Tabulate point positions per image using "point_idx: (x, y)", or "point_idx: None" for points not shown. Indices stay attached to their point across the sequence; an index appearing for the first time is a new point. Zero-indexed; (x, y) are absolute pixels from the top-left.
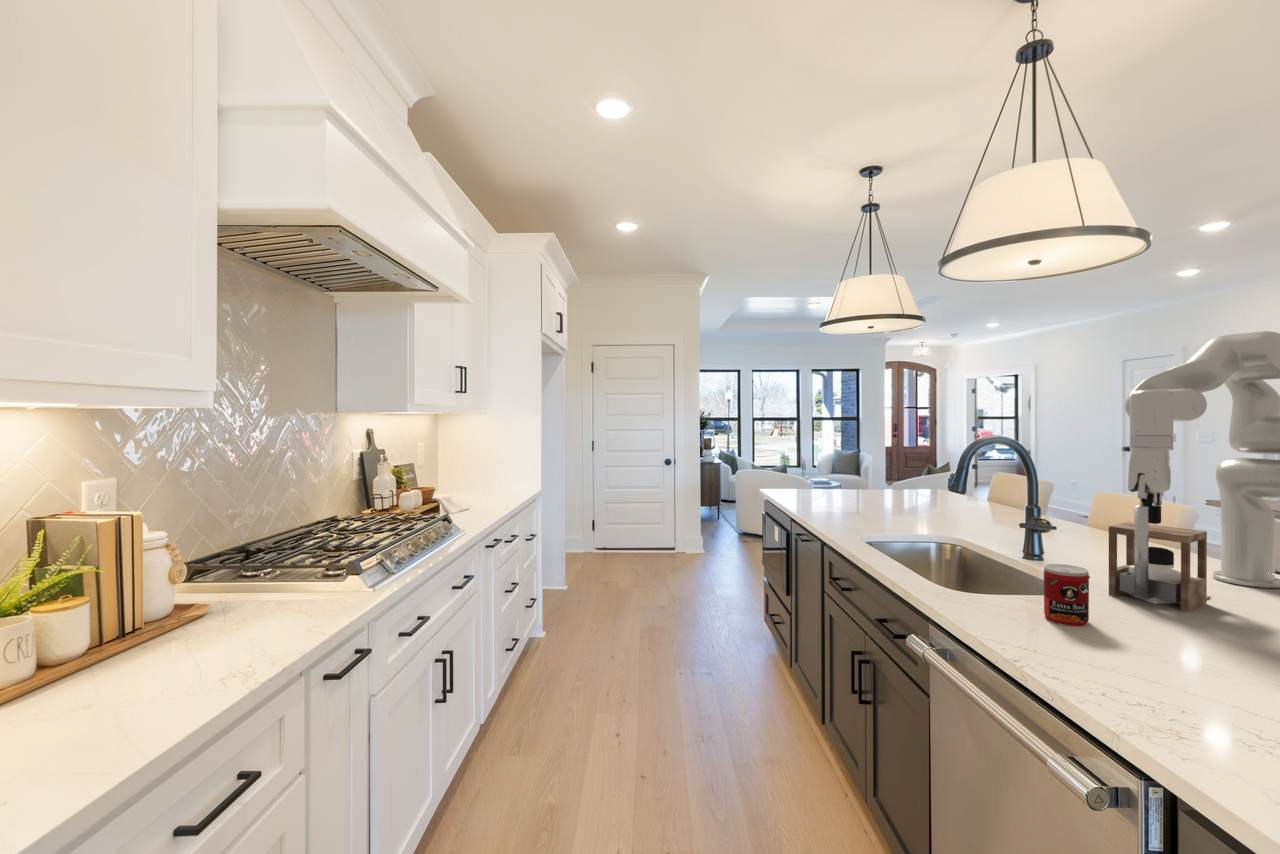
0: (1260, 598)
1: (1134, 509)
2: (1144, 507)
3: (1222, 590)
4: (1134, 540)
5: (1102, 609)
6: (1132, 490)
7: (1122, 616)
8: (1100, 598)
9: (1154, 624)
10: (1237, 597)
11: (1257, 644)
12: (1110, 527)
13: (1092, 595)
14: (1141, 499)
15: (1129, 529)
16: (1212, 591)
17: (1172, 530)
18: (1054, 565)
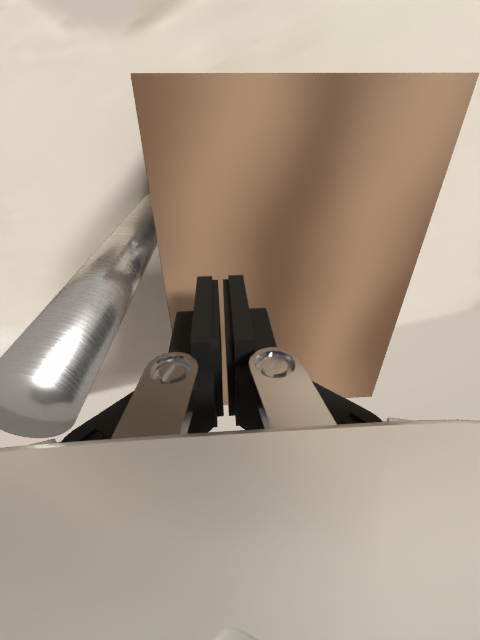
0: (433, 308)
1: (4, 355)
2: (9, 427)
3: (465, 251)
4: (95, 253)
5: (18, 163)
6: (3, 465)
7: (18, 218)
8: (119, 103)
9: (38, 276)
10: (412, 285)
11: (106, 380)
12: (134, 89)
13: (128, 67)
14: (86, 426)
15: (153, 214)
16: (440, 243)
17: (297, 337)
18: None
